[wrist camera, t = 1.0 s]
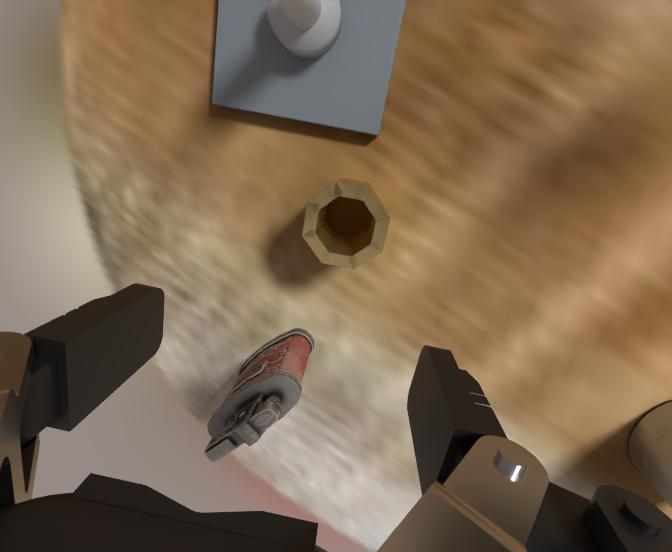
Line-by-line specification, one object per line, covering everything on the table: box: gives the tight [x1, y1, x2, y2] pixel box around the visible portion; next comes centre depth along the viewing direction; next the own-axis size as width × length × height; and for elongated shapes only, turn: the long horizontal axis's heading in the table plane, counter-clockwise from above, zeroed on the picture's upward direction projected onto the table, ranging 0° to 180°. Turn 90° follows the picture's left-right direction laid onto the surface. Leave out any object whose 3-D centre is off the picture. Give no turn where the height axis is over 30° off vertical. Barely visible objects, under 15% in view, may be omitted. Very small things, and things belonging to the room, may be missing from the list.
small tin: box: [205, 328, 314, 462], centre depth 28 cm, size 8×3×10 cm, turn 129°
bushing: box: [302, 178, 390, 269], centre depth 25 cm, size 5×5×6 cm
